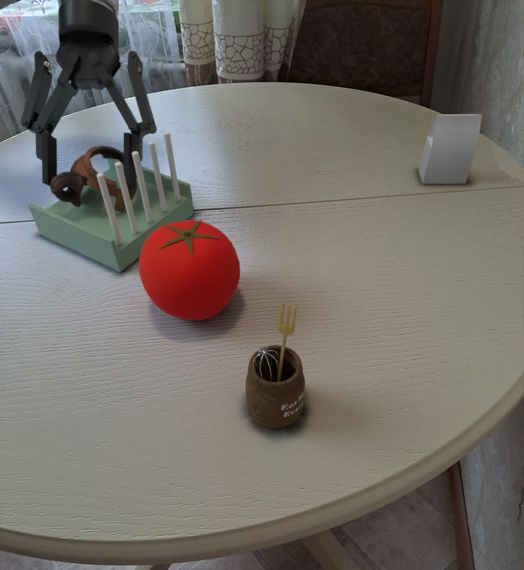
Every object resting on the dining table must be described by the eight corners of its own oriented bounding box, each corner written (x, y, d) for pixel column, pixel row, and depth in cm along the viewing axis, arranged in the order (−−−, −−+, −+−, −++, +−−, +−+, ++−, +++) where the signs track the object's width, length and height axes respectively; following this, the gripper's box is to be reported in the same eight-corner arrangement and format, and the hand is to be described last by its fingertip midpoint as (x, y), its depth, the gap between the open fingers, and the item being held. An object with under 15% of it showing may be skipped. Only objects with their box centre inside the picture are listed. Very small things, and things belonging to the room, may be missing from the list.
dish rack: (40, 234, 73) (3, 149, 63) (117, 183, 81) (95, 101, 72) (120, 272, 67) (93, 184, 57) (194, 213, 75) (182, 128, 66)
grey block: (465, 183, 79) (485, 120, 72) (422, 183, 80) (438, 121, 72) (460, 171, 82) (479, 109, 74) (418, 171, 82) (433, 109, 74)
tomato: (259, 311, 62) (257, 241, 54) (174, 350, 58) (157, 281, 50) (213, 259, 68) (205, 191, 60) (134, 291, 64) (114, 222, 56)
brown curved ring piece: (103, 176, 78) (118, 135, 72) (138, 223, 77) (156, 185, 71) (31, 190, 70) (41, 144, 64) (69, 242, 69) (83, 201, 63)
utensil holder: (237, 419, 51) (229, 342, 42) (262, 374, 55) (259, 294, 46) (291, 439, 50) (294, 363, 41) (312, 391, 53) (320, 312, 44)
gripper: (181, 29, 69) (179, 193, 70) (20, 29, 70) (22, 191, 72) (167, -6, 61) (166, 179, 63) (-13, -4, 62) (-10, 177, 64)
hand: (89, 185), depth 67 cm, fingers closed on brown curved ring piece, 10 cm apart
